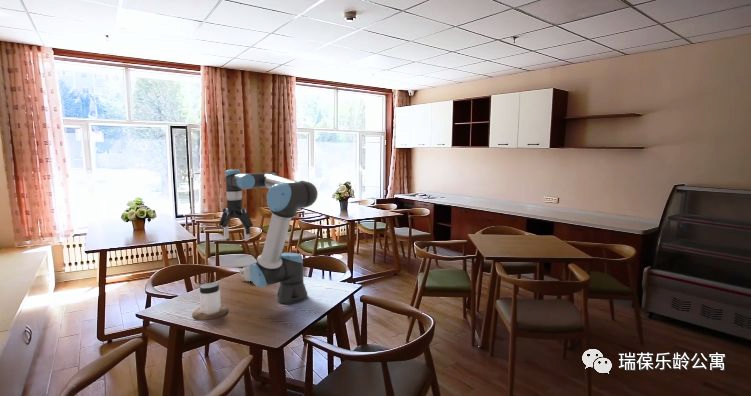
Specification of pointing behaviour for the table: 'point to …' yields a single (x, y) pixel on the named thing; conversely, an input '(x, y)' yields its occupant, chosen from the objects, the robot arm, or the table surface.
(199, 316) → the disc
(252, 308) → the table surface
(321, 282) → the table surface
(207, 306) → the jar
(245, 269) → the cup
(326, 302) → the table surface
